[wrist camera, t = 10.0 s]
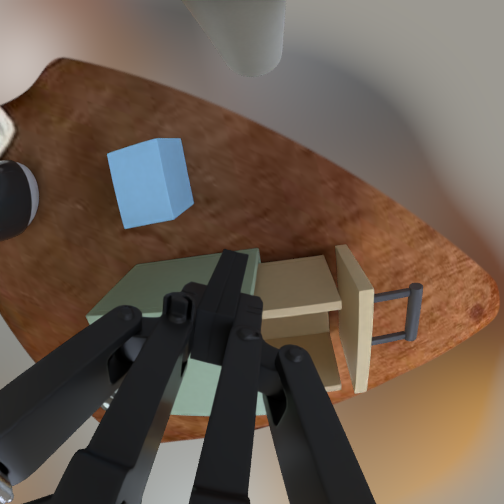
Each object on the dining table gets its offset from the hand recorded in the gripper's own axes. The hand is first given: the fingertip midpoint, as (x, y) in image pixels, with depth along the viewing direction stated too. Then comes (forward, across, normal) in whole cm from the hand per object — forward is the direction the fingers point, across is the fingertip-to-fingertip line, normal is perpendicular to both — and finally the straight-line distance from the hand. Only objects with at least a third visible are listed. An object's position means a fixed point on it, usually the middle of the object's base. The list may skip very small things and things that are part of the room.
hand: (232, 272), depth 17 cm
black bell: (+14, -31, -3) cm, 34 cm away
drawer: (+13, +9, -7) cm, 17 cm away
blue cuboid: (+13, -10, +2) cm, 17 cm away
